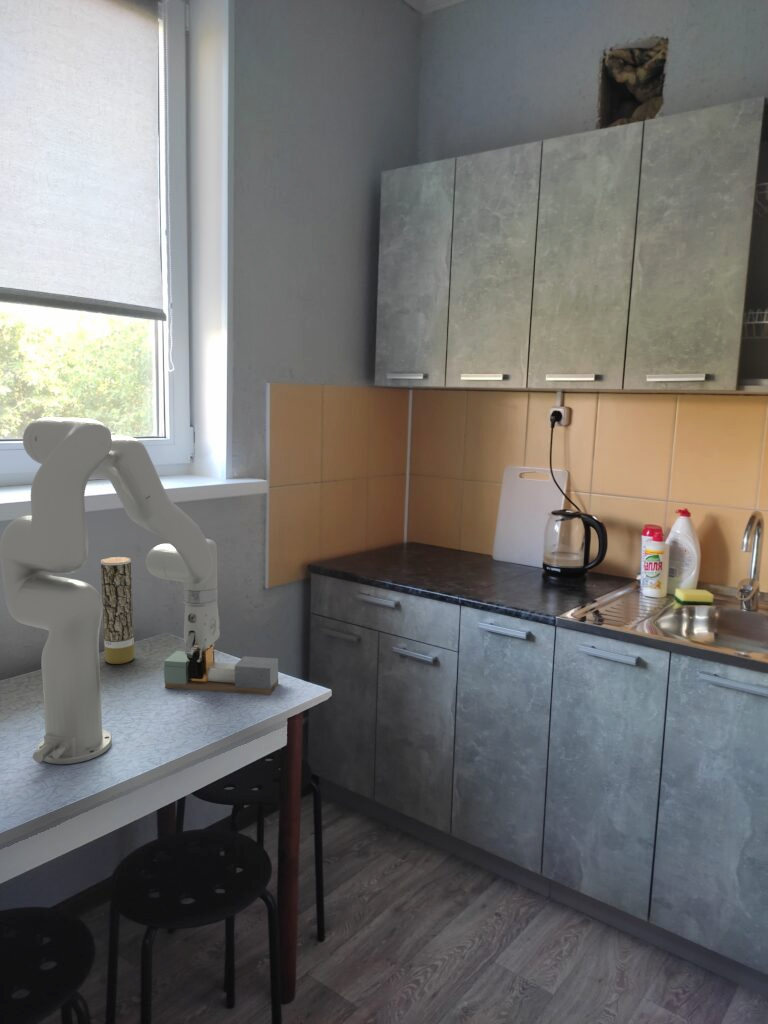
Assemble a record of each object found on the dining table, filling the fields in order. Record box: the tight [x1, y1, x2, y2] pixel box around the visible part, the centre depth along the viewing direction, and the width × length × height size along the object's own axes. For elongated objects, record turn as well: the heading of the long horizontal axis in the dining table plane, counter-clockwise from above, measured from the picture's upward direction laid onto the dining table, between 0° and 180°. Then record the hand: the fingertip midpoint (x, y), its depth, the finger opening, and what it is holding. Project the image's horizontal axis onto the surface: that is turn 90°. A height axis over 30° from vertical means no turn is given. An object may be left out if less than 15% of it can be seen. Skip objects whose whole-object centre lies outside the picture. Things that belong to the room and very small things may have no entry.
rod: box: [188, 645, 237, 683], centre depth 164 cm, size 4×15×7 cm, turn 82°
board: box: [164, 679, 279, 696], centre depth 164 cm, size 7×24×1 cm, turn 82°
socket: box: [163, 650, 188, 684], centre depth 165 cm, size 7×5×5 cm
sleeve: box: [235, 655, 279, 689], centre depth 163 cm, size 6×8×5 cm
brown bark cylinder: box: [100, 556, 135, 665], centre depth 177 cm, size 7×7×25 cm
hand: (201, 672), depth 164 cm, fingers open, 6 cm apart
